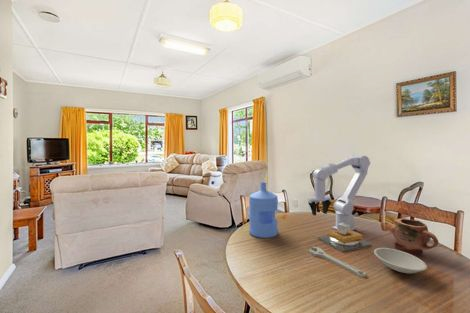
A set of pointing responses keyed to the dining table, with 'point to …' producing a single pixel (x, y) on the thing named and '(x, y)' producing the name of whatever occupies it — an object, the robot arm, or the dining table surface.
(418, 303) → the dining table surface
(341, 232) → the rectangular block
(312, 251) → the adjustable wrench
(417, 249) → the brown ceramic rounded pot
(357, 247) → the bracket rosette
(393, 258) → the dish
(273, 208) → the water jug
